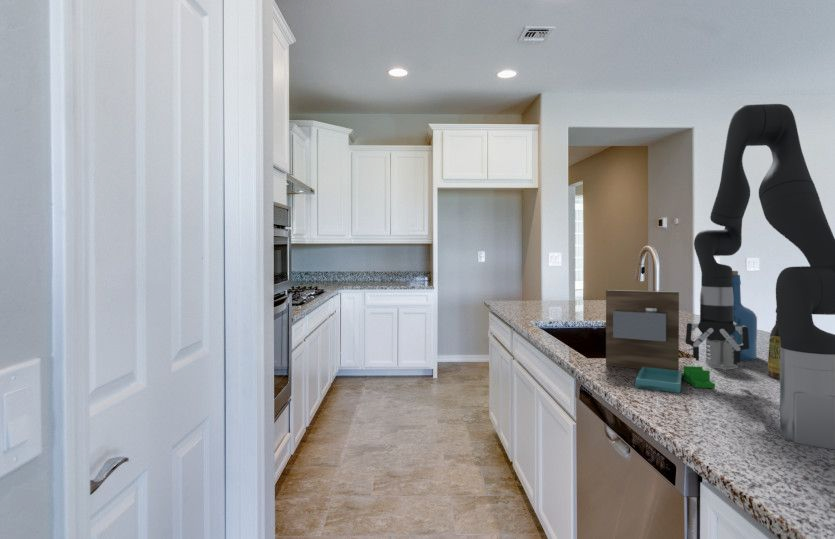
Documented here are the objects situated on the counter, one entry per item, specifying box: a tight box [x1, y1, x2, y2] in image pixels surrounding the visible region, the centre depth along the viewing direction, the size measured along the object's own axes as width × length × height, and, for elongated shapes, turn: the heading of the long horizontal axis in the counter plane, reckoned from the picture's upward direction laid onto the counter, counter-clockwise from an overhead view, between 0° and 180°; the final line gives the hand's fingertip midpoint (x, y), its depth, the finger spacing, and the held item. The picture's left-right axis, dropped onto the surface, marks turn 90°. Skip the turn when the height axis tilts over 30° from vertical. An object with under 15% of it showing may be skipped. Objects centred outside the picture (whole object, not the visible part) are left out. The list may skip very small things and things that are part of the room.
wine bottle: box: [709, 270, 758, 361], centre depth 149 cm, size 14×13×30 cm
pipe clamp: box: [682, 365, 716, 389], centre depth 119 cm, size 11×4×5 cm
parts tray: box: [635, 367, 683, 394], centre depth 119 cm, size 16×10×2 cm, turn 147°
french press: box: [703, 322, 739, 370], centre depth 137 cm, size 10×12×25 cm
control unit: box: [613, 308, 667, 342], centre depth 132 cm, size 6×14×9 cm, turn 57°
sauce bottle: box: [767, 307, 781, 380], centre depth 123 cm, size 7×6×20 cm
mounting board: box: [605, 289, 680, 371], centre depth 135 cm, size 2×20×24 cm, turn 58°
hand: (716, 362), depth 120 cm, fingers open, 8 cm apart
